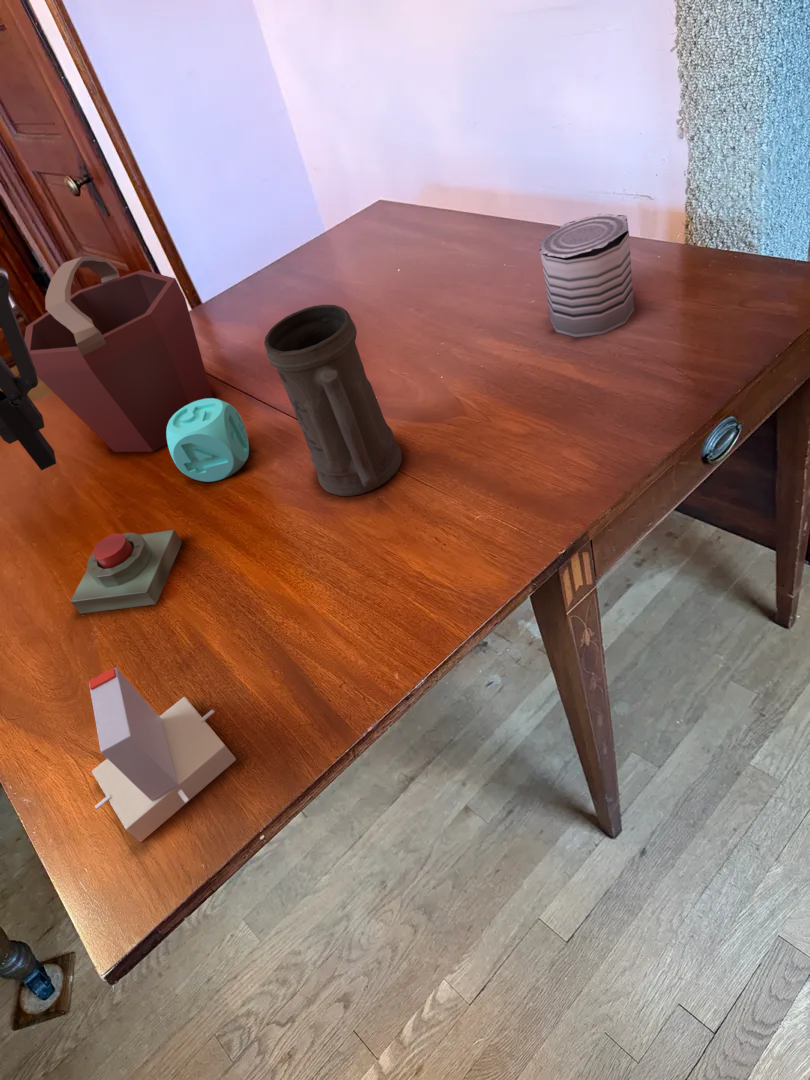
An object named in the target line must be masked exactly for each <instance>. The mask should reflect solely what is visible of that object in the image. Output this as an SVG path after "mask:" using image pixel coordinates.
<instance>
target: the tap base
mask: <svg viewBox="0 0 810 1080" xmlns="http://www.w3.org/2000/svg"><path fill="white" fill-rule="evenodd" d="M213 714H215V710H214V709H211V710H209V711H208V712H207V713H206V714H204V715H203V716H202V715H201V714H200V713H199V711H198V710H197V709H196V708H195V707H194V706H193V705H192V703H191V702H190V701H189V700H188V698H187V697H186V696H183V697H182V698H180V699H179V700H177V702H175V703H174V704H173V705H171V707H169V708H168V709H166V710H165V711H164V712H163V713H162V714H160V715H159V717H160V718H161V720H162V724H163V728H164V732H165V735H166V739H167V743H168V747H169V751H170V755H171V759H172V762H173V766H174V770H175V774H176V778H177V782H178V786H177V787H176V788H174V789H172V790H170V791H169V792H167V793H165V794H163V795H162V796H160V797H158V798H156V799H155V800H153V801H151V800H150V799H149V798H148V797H147V796H146V795H145V794H144V793H143V792H142V791H140V790H139V789H138V788H137V787H136V786H135V785H134V784H133V783H132V782H131V781H130V780H129V779H128V778H127V777H126V776H125V775H124V774H123V773H122V772H121V771H120V770H119V769H118V768H117V767H116V766H115V765H114V764H112V763H111V762H110V761H109V760H108V759H107V758H106V759H104V760H103V761H102V762H100V764H98V765H97V766H96V767H94V768H93V769H92V770H91V773H92V775H93V777H94V779H95V781H96V782H97V783H98V785H99V787H100V789H101V790H102V793H103V794H104V795H105V797H104V798H102V800H100V801H99V802H98V803H96V804H95V805H94V808H95V810H98V809H100V808H101V807H103V805H104V804H106V803H107V802H109V804H110V805H111V807H112V809H113V811H114V812H115V814H116V816H117V817H118V819H119V821H120V822H121V824H122V826H123V827H124V830H126V832H128V833H129V834H130V835H131V836H132V837H134V838H135V839H136V840H137V841H138V842H139V843H142V842H143V841H145V839H147V838H148V837H149V836H151V834H153V832H154V831H156V830H157V829H159V828H160V826H161V825H163V824H164V823H165V822H167V820H169V819H170V818H171V817H172V816H173V815H174V814H176V813H177V812H178V811H179V810H180V809H181V808H183V807H184V806H185V805H186V804H187V803H189V802H190V801H191V799H193V798H194V797H195V796H196V795H198V794H199V793H200V792H201V791H202V790H203V789H204V788H206V787H207V786H208V785H209V784H210V783H211V782H212V781H214V780H215V779H217V777H219V775H221V774H222V773H223V772H224V771H226V769H228V768H229V767H230V766H232V764H234V763H235V762H236V761H237V758H236V756H235V755H234V754H233V753H232V752H231V751H230V750H229V748H228V747H227V745H225V743H224V742H223V741H222V739H220V737H219V736H218V735H217V734H216V732H215V731H214V730H213V728H212V727H211V726H210V725H209V724H208V723H207V721H206V720H207V719H208V718H210V717H211V716H213Z"/></svg>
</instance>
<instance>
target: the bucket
mask: <svg viewBox="0 0 810 1080" xmlns="http://www.w3.org/2000/svg"><path fill="white" fill-rule="evenodd" d="M78 268H82V269H85V268H87V269H89V270H90V271H92V272H93V273H95V275H97V276H98V277H99V278H100V281H101V283H97V284H94V285H91V286H88V287H85V288H82V289H79V290H77V291H76V292H74V293H72V294H71V290H72V284H73V280H74V278H75V273H76V272H77V270H78ZM44 302H45V304H44V305H45V310H46V311H47V312H45V313H44V314H42V315H41V316H40V317H38V318H37V319H35V320H34V321H32V322H30V323H29V324H28V325H26V326H25V332H24V340H25V343H26V345H27V348H28V351H29V353H30V356H31V359H32V361H33V364H34V367H35V369H36V373H37V378H38V379H40V380H41V382H43V384H45V386H47V388H49V389H50V390H51V392H53V393H54V394H55V395H56V396H57V397H58V398H59V399H60V400H61V401H62V402H63V403H64V404H65V405H66V406H67V407H68V408H69V409H71V411H72V412H73V413H74V414H75V415H76V416H77V417H78V418H79V419H80V420H81V421H82V422H83V423H84V424H85V425H86V426H87V427H88V428H89V429H90V430H92V432H94V433H95V434H96V436H98V437H99V439H101V441H103V442H104V444H106V445H107V446H108V447H109V448H110V449H111V450H112V451H113V452H114V453H143V452H144V453H145V452H146V453H147V452H149V453H153V452H155V451H158V450H159V449H161V448H163V447H164V446H166V445H168V443H167V436H166V430H167V425H168V422H169V420H170V419H171V417H172V416H173V415H174V414H175V413H176V412H177V411H178V410H180V409H181V408H183V407H184V406H186V405H188V404H190V403H192V402H195V401H197V400H201V399H206V398H214V397H213V394H212V390H211V386H210V381H209V379H208V375H207V372H206V368H205V365H204V361H203V358H202V354H201V350H200V347H199V342H198V339H197V335H196V332H195V329H194V325H193V322H192V321H193V320H192V318H191V314H190V311H189V307H188V303H187V299H186V297H185V295H184V293H183V291H182V288H181V287H180V285H179V283H178V281H177V278H175V277H172V276H168V275H164V274H161V273H156V272H152V271H147V270H143V269H140V270H137V271H133V272H131V273H128V274H125V275H122V276H120V273H119V270H118V269H117V267H116V266H115V265H114V264H113V263H112V262H111V261H109V260H108V259H107V258H106V257H104V256H103V257H102V256H101V257H100V256H95V255H83V256H79V257H77V258H74V259H71V260H68V261H64V262H63V263H62V264H61V265H60V266H59V267H58V268H57V270H56V272H55V273H54V274H53V276H52V277H51V279H50V282H49V284H48V287H47V290H46V294H45V301H44Z"/></svg>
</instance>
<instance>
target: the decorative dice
mask: <svg viewBox="0 0 810 1080" xmlns="http://www.w3.org/2000/svg"><path fill="white" fill-rule="evenodd" d="M166 436H167V443H168V444H167V448H168V451H169V454H170V456H171V459H172V461H173V463H174V465H175V466H176V468H177V469H178V470H179V471H180V472H181V473H182V474H183V475H185V476H187V477H189V479H193V480H196V481H199V482H206V483H212V482H219V481H222V480H224V479H226V478H228V477H231V476H232V475H234V474H236V473H237V472H239V471H240V469H241V468H243V466H244V465H245V464H246V462H247V460H248V459H249V454H250V445H249V443H250V442H249V437H248V433H247V429H246V426H245V423H244V421H243V419H242V416H241V415H240V413H239V411H238V410H237V409H236V408H235V406H233V405H232V404H231V403H228V402H226V401H224V400H221V399H219V398H214V397H213V398H206V399H201V400H197V401H195V402H192V403H190V404H188V405H186V406H184V407H183V408H181V409H180V410H178V411H177V412H176V413H175V414H174V415H173V416H172V417H171V419H170V420H169V422H168V425H167V430H166Z"/></svg>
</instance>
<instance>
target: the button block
mask: <svg viewBox="0 0 810 1080" xmlns="http://www.w3.org/2000/svg"><path fill="white" fill-rule="evenodd" d="M122 534H123V535H124V536H125V537H126V538H127V540H128V541H129V543H130V544H131V545H132V547H133V552H132V554H131V556H130V557H129V558H128V559H127V560H125V561H124V562H123V563H121V564H119V565H117V566H115V567H113V568H108V569H106V568H103V567H102V566H101V565H100V563H99V562H98V561H97V560H96V558H95V557H94V556H93V552H92V553H91V554H90V557H89V558H88V560H87V562H86V567H87V568H86V571H85V573H84V574H83V575H82V578H81V580H80V582H79V584H78V586H77V588H76V590H75V591H74V594H73V595H72V597H71V599H70V601H69V602H70V604H71V605H72V606H73V607H74V608H75V609H76V611H77V612H78V613H79V614H90V613H98V612H105V611H115V610H121V609H130V608H137V607H145V606H153V605H157V604H158V602H159V599H160V596H161V595H162V592H163V589H164V587H165V584H166V582H167V579H168V577H169V575H170V573H171V570H172V568H173V566H174V563H175V561H176V558H177V556H178V554H179V552H180V549H181V546H182V544H183V541H182V539H181V538H180V537H179V535H178V533H177V532H176V531H175V529H168V530H162V531H156V532H150V533H142V534H138V533H136V532H132V531H131V532H125V533H122Z"/></svg>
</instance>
